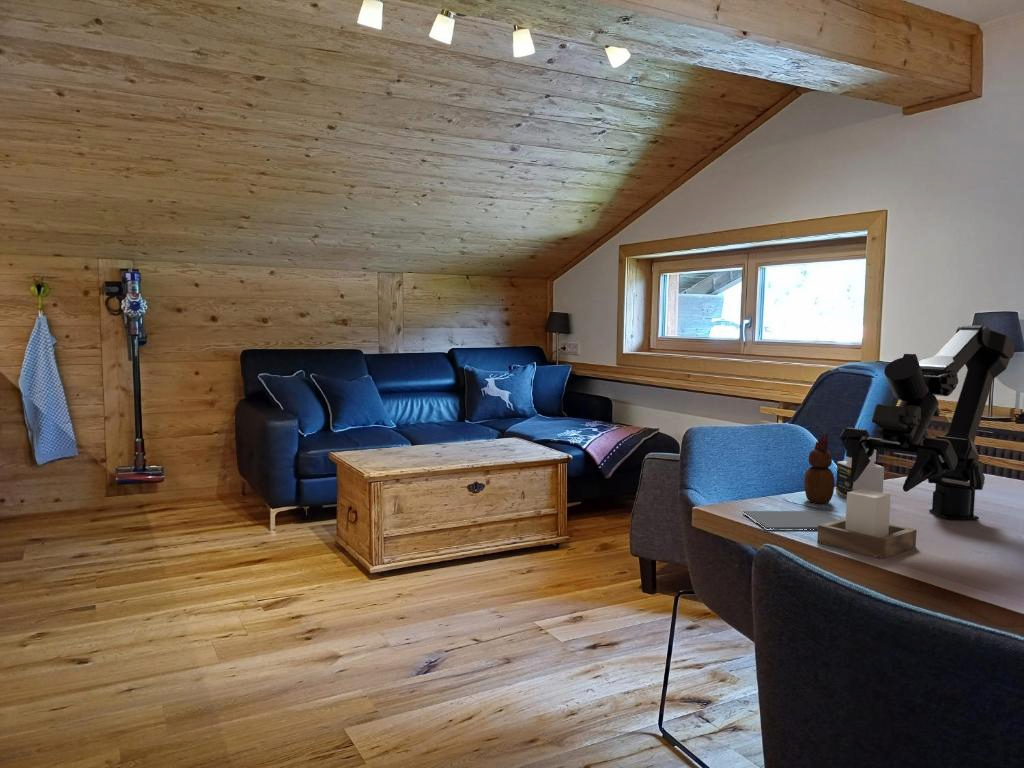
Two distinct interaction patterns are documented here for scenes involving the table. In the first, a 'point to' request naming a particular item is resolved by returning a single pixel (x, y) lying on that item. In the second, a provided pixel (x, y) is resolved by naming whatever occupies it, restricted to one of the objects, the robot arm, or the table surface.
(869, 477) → the medicine bottle
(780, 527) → the slate mat
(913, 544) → the wooden tray
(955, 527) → the table surface
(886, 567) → the table surface
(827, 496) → the wooden figurine
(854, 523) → the white block
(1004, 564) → the table surface
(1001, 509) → the table surface
